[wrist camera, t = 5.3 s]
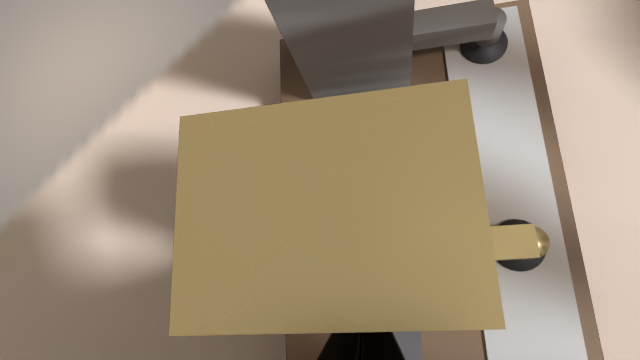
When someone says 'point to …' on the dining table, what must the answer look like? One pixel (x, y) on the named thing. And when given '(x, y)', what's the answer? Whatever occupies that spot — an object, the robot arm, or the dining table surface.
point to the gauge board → (493, 145)
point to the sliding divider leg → (339, 218)
